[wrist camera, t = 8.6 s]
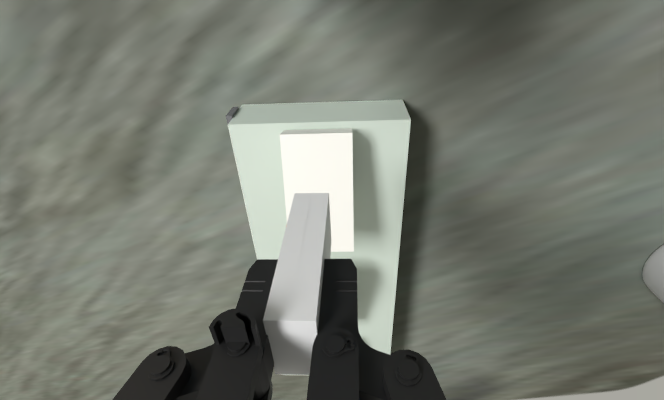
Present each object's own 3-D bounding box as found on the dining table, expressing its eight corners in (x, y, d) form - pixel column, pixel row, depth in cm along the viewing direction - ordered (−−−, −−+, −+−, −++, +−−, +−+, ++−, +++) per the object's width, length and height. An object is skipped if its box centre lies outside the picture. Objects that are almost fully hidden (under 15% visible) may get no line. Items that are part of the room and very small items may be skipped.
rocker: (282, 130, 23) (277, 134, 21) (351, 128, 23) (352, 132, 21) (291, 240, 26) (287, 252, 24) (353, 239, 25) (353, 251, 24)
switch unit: (236, 102, 26) (217, 125, 23) (402, 96, 26) (412, 120, 22) (283, 343, 43) (277, 381, 39) (385, 343, 43) (389, 382, 39)
